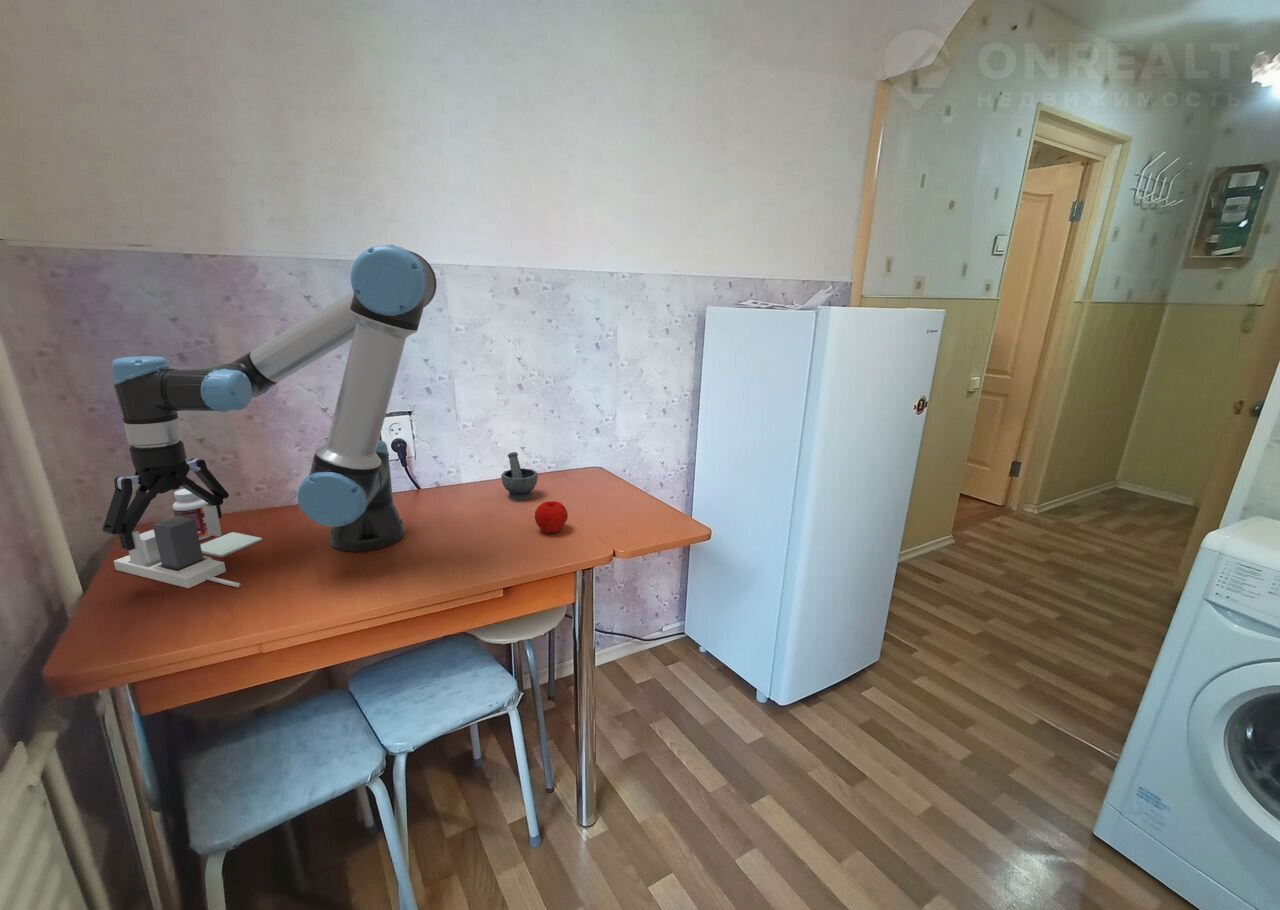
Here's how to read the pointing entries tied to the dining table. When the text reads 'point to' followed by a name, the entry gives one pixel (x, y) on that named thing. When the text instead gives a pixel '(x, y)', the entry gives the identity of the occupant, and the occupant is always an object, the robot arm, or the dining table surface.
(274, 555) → the dining table surface
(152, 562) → the strip
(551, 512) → the apple
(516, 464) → the mortar and pestle
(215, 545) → the coaster
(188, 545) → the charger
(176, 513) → the pill bottle
